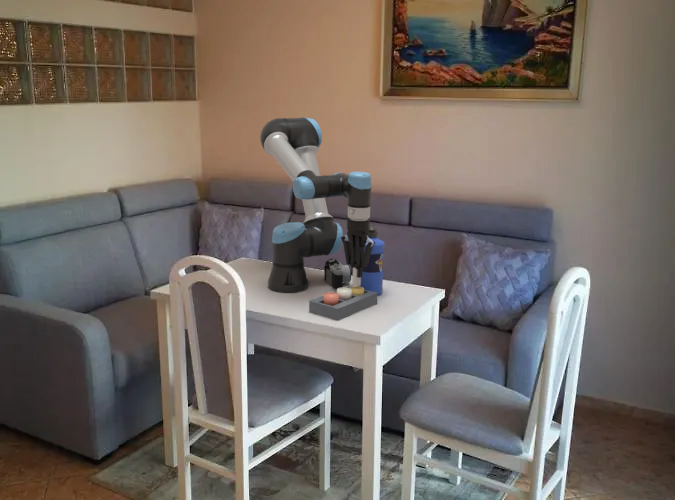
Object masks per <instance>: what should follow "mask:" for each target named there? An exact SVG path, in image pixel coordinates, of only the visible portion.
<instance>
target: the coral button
mask: <svg viewBox="0 0 675 500" xmlns="http://www.w3.org/2000/svg"><path fill="white" fill-rule="evenodd" d="M322 296H323V304H327V305H330V306H334V305H336V304H339V294H338V293H335V292H334V291H327V292H324V293H323V294H322Z"/></svg>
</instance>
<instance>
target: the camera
mask: <svg viewBox="0 0 675 500" xmlns="http://www.w3.org/2000/svg"><path fill="white" fill-rule="evenodd" d="M323 267H324V269H323V270H324V271H323V272H324V275H323V276H324V278H323V280H324V281H325V282H326V283H327V284H328V285H329V286H330V288H331V289H332V290H333V291H337V289H338V288H341V287H344V286H343V285H344V284H345V283H350V282H351V280H352V276H351V266H350V265H349V264H342V263H341V262H340V261H339V260H338V259H337V258H334V257H333V258H328V259H327V260H326V261H325V264H324V266H323Z"/></svg>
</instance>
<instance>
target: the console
mask: <svg viewBox="0 0 675 500" xmlns="http://www.w3.org/2000/svg"><path fill="white" fill-rule="evenodd" d="M345 287H346V288H350V287H352V285H349V286H345ZM333 292H335V293H337V291H335V290H333ZM378 297H379V296H378V293H376V292H372V291H368V290H365V289H364V294H362V295H359V296H357V295H353V294H352V299H349V300H346V301H345V300H341V299H339V304H336V305H334V306H330V305H327V304H323V295H321V296H318V297H316V298H313V299H310V300H309V301H308V307H309V308H308V313H311V314H313V315H317V316H320V317H323V318H327V319H331V320H332V321H333V320H334V321H337V322H339V321H340V320H343V319H345V318H347V317H350V316H352V315H355V314H357V313H359V312H361V311H364V310H365V309H369V308H371V307H372V306H375V305H378Z"/></svg>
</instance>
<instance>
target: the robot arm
mask: <svg viewBox="0 0 675 500" xmlns="http://www.w3.org/2000/svg"><path fill="white" fill-rule="evenodd" d="M322 138H323V132H322V129H321V127H320V125H319V123H318V122H317V120H315V119H313V118H309V117H288V118H287V117H285V118H284V117H283V118H281V117H278V118H273V119H271V120H270V121H268V122H266V123H265V125H264V126H263V127H262V129H261V132H260V136H259V140H260V144H261V147H262V148H263V150H264V152H265V153H267V154H268V155H270V156H272V157H273V158H274V159H275V161H276V162H277V164H279V166H280V167H281V168H282V170H283V171H284V172H285V173H286V175H287V176H288V177H289V178H290V180H291V181H292V192H293V194H294V197H295V198H296V199H298V200H302V205H303V211H304V215H305V219H304V221H303V222H298V221H294V222H285V223H281V224H279V225H277V226H275V227H274V228H273V230H272V236H271V237H272V238H271V242H272V245H271V246H272V249H271V250H272V267H271V270H270V274H269V278H268V280H267V287H268V288H269V290H271V291H273V292H279V293H298V292H304V291H306V290H307V289H309V288H310V280H309V278H308V274H307V272H306V268H305V258H314V257H320V256H330V255H335V254H337V253H338V252H340V249H341V248H342V245H343V250H344V251H343V252H344V255H345V262H346V265H349V266H350V269H351V277H352V285H351V286H354V287H357V286H360V285H361V277H362V275H363V268H364V267H367V266H368V263H369V259H370V255H371V251H372V247H373V246H374V244H375V241H372V240H371V239H370V238H369V234H368V232H369V227H370V225H371V224H370V222H371V221H370V218H371V197H372V196H371V195H372V175H371V174H370V173H369V172H367V171H351V172H350V173H349V174H347V173H344V172H334V174H328V175H327V174H326V175H325V174H324V175H321V172H320V168H319V163H318V158H317V153H318V152H319V149H320V146H321V145H322V142H323V139H322ZM339 197H344V198H345V199H346V198H347V218H348V219H347V220H346V221H347V223H346V229H347V232H346V234H345V235H344V231H343V228H342V226H341V225H340V223H338V222H335V221H334V216H332V215H331V214H329V211H328V210H329V209H328V207H327V201H326V198H339ZM366 242H367V243H366ZM365 243H366V248H365ZM364 248H365V251H364Z"/></svg>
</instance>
